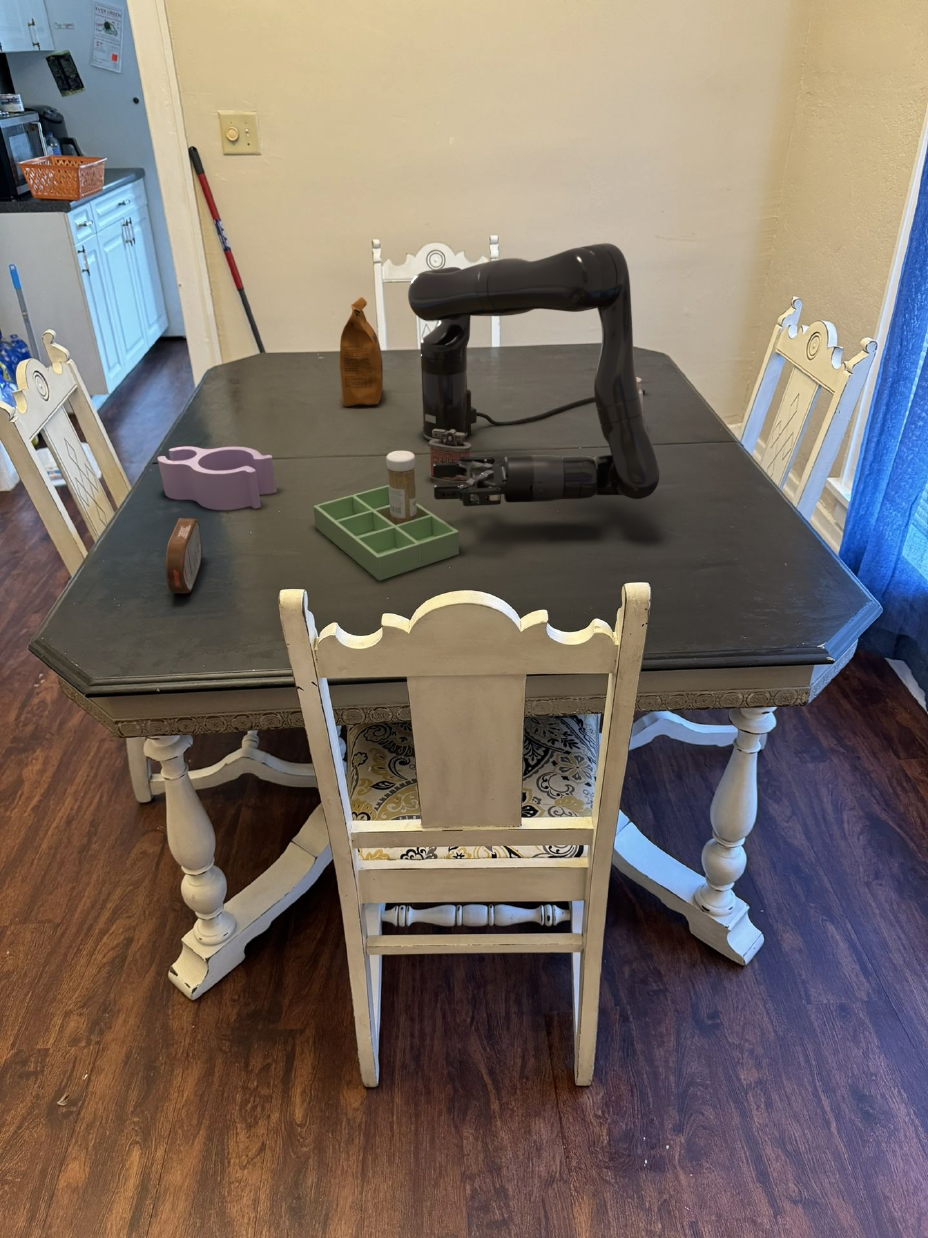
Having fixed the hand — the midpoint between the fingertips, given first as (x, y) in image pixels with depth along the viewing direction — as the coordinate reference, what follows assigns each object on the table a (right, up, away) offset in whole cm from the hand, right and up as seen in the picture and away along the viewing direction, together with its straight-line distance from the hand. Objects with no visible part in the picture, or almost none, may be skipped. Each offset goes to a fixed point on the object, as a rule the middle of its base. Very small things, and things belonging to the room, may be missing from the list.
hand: (433, 481), depth 141 cm
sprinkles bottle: (-5, -8, +5) cm, 10 cm away
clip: (-40, +1, +19) cm, 45 cm away
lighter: (+2, +4, +23) cm, 24 cm away
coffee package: (-18, +29, +62) cm, 71 cm away
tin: (-37, -16, -7) cm, 41 cm away
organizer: (-8, -9, +3) cm, 13 cm away
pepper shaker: (+40, +18, +45) cm, 63 cm away
